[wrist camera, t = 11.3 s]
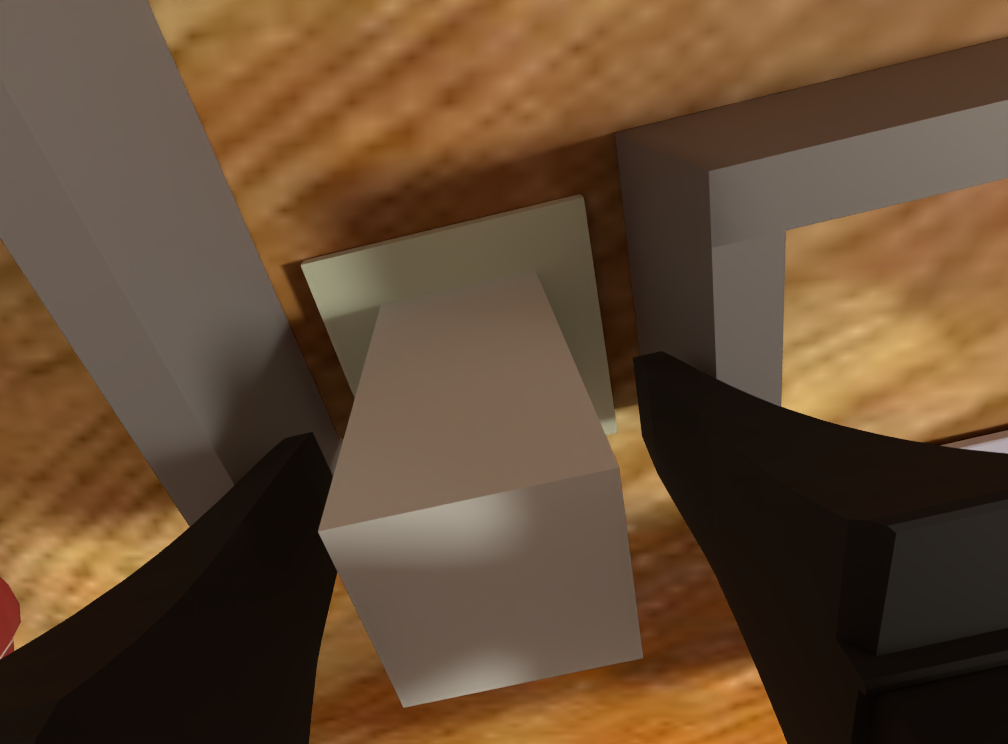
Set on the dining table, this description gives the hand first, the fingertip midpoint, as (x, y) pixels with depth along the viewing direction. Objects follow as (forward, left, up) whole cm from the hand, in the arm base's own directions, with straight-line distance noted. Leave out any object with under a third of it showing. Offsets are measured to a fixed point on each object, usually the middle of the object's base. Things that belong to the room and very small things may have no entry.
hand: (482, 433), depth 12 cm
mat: (0, 0, -4) cm, 4 cm away
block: (0, 0, -4) cm, 4 cm away
